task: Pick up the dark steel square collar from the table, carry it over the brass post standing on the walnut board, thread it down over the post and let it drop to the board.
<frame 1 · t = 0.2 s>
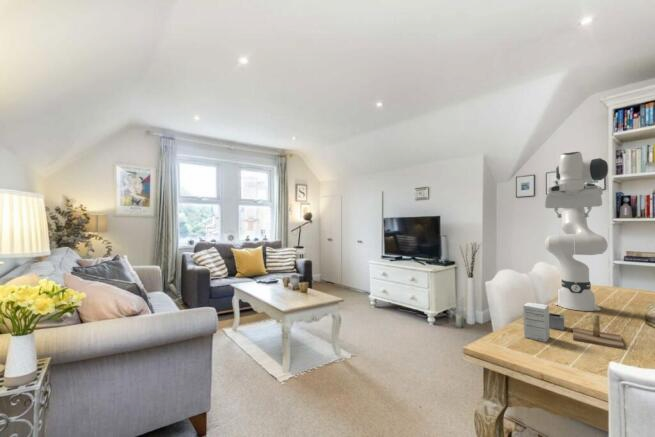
hand: (572, 217, 137), 47 cm above the table, fingers open, 8 cm apart
supplement box: (536, 337, 118), on the table
post board: (596, 338, 116), on the table
collar: (555, 327, 130), on the table
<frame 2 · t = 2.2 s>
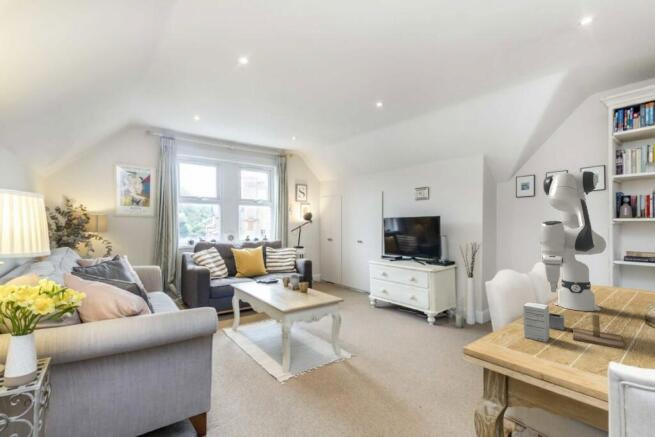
hand: (554, 290, 130), 16 cm above the table, fingers open, 8 cm apart
nothing on the table moved.
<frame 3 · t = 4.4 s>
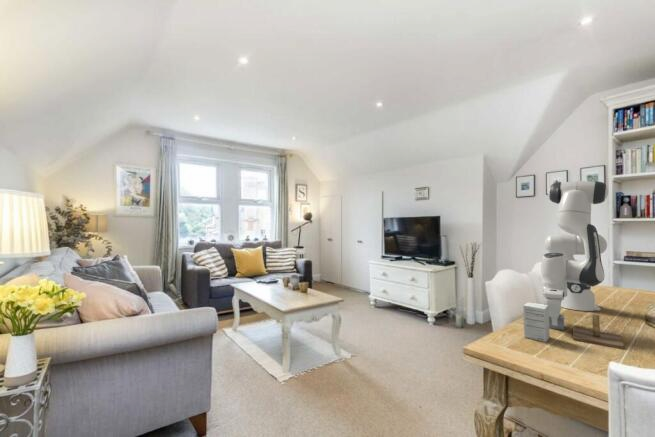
hand: (555, 322, 130), 2 cm above the table, fingers closed on collar, 6 cm apart
collar: (555, 327, 130), on the table, touching gripper
everything else where it was.
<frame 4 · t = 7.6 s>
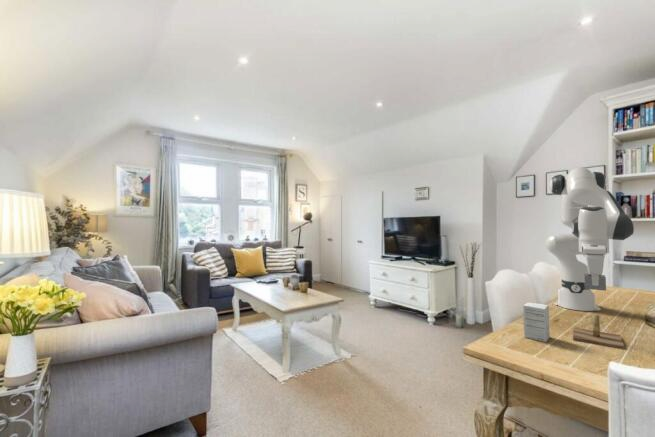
hand: (594, 283, 117), 21 cm above the table, fingers closed on collar, 6 cm apart
collar: (595, 288, 117), point 19 cm above the table, touching gripper
everything else where it was.
when the fingers open (6 cm above the table, at t = 10.9 s): collar drops 3 cm, resting on post board.
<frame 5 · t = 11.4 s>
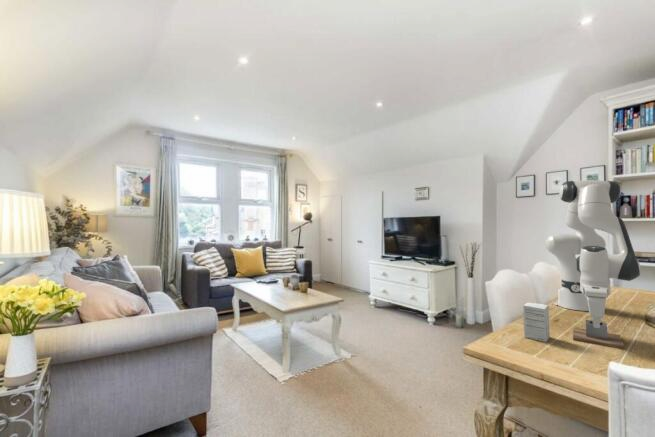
hand: (596, 324, 116), 6 cm above the table, fingers open, 8 cm apart
collar: (596, 336, 116), point 1 cm above the table, touching post board
everything else where it was.
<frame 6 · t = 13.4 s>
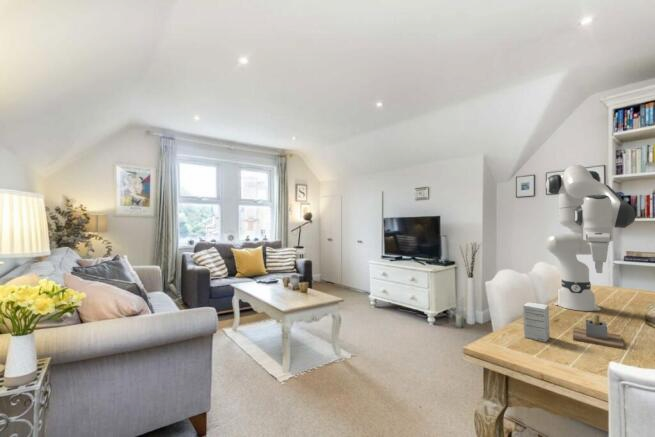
hand: (598, 271, 118), 26 cm above the table, fingers open, 8 cm apart
nothing on the table moved.
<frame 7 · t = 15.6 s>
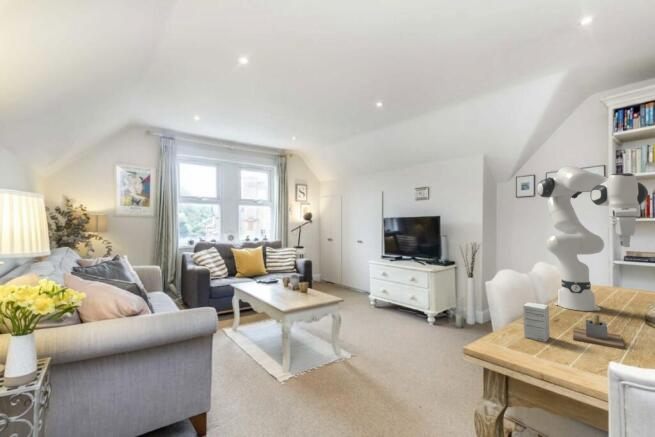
hand: (624, 246, 122), 35 cm above the table, fingers open, 8 cm apart
nothing on the table moved.
at the end: collar 0.0 cm from the post board (horizontally); collar point 1.0 cm above the table; the gripper is holding nothing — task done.
